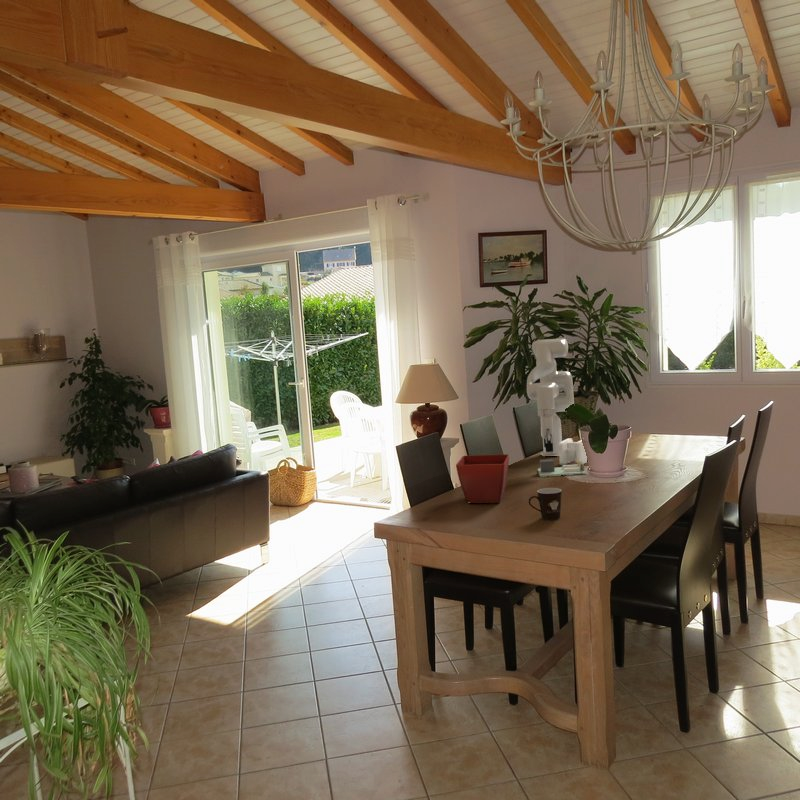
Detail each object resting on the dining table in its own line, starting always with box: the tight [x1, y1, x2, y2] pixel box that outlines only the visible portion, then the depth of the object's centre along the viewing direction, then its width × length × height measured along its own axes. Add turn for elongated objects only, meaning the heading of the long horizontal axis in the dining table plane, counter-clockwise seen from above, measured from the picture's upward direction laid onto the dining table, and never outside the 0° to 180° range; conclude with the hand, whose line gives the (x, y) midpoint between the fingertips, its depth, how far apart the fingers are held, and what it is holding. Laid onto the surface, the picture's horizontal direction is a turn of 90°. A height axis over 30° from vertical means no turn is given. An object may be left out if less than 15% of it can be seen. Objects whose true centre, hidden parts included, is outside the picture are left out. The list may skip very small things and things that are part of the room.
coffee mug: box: [528, 487, 563, 521], centre depth 275 cm, size 12×9×10 cm
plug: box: [539, 458, 555, 472], centre depth 350 cm, size 4×6×5 cm, turn 83°
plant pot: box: [455, 453, 510, 504], centre depth 308 cm, size 19×19×17 cm
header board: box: [537, 460, 586, 478], centre depth 349 cm, size 14×20×5 cm
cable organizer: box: [558, 437, 588, 466], centre depth 365 cm, size 15×11×12 cm
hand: (548, 449), depth 349 cm, fingers open, 9 cm apart
